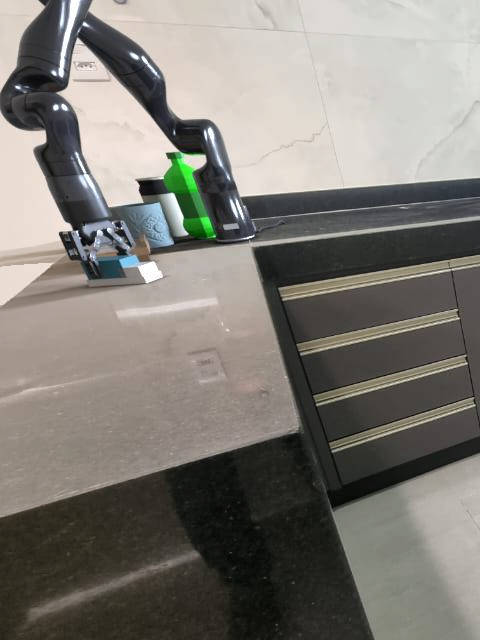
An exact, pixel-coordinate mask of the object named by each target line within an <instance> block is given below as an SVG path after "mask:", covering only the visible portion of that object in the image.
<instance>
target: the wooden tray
mask: <svg viewBox="0 0 480 640" xmlns="http://www.w3.org/2000/svg"><path fill="white" fill-rule="evenodd" d="M125 242H128V241H127V240H125ZM134 242H135V244H136V245H135V247H131V250H130V254H131V255H136V256H137V258H138V260H139V262H153V260H152V259H151V257H150V255H151V253H152V252H151V249H150V245H149V242H148V240H147V237H146V235H145V233H144V232H140V239H134ZM116 253H118V252H117V251H115V250H114V249H113V248H111V247H110V246H107V245H105V246H103V247H100V250H99V251H98V252H97V254H96V257H106V256H117V254H116ZM88 254H89V252H88V253H87V255H88Z"/></svg>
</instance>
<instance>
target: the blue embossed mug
mask: <svg viewBox="0 0 480 640" xmlns="http://www.w3.org/2000/svg"><path fill="white" fill-rule="evenodd" d="M114 210H115V212H116V213H117V215H118V217H119V218H120V219H121V221H124V222H125V224H126V226H127V228H128V230H129V232H130V234H131V236H132V238H133V240H134V239H140V232H144V233H145V235H146V237H147V240H148V242H149V245H150V250H151V249H157V248H163V247H164V248H165V247H169V246H172V245H174V244H175V241H174V238H173V237H172V234H171V232H170V230H169V226H168V223H167V221H166V219H165V216H164V213H163V210H162V207H161V204H160V202H145V203H144V202H137V203H129V204H123V205H118V206H117V205H116V206H114Z"/></svg>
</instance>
